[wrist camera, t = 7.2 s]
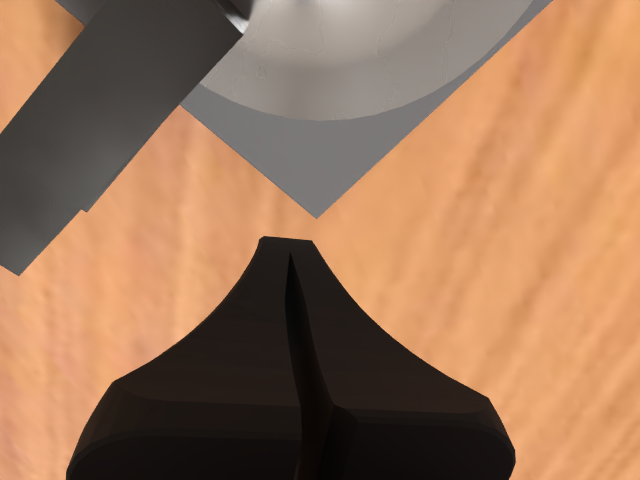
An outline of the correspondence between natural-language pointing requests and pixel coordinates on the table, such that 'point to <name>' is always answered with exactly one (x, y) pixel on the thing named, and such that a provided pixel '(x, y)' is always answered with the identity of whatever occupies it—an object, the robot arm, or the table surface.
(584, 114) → the table surface
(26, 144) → the cooker lid
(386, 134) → the charcoal trivet mat
